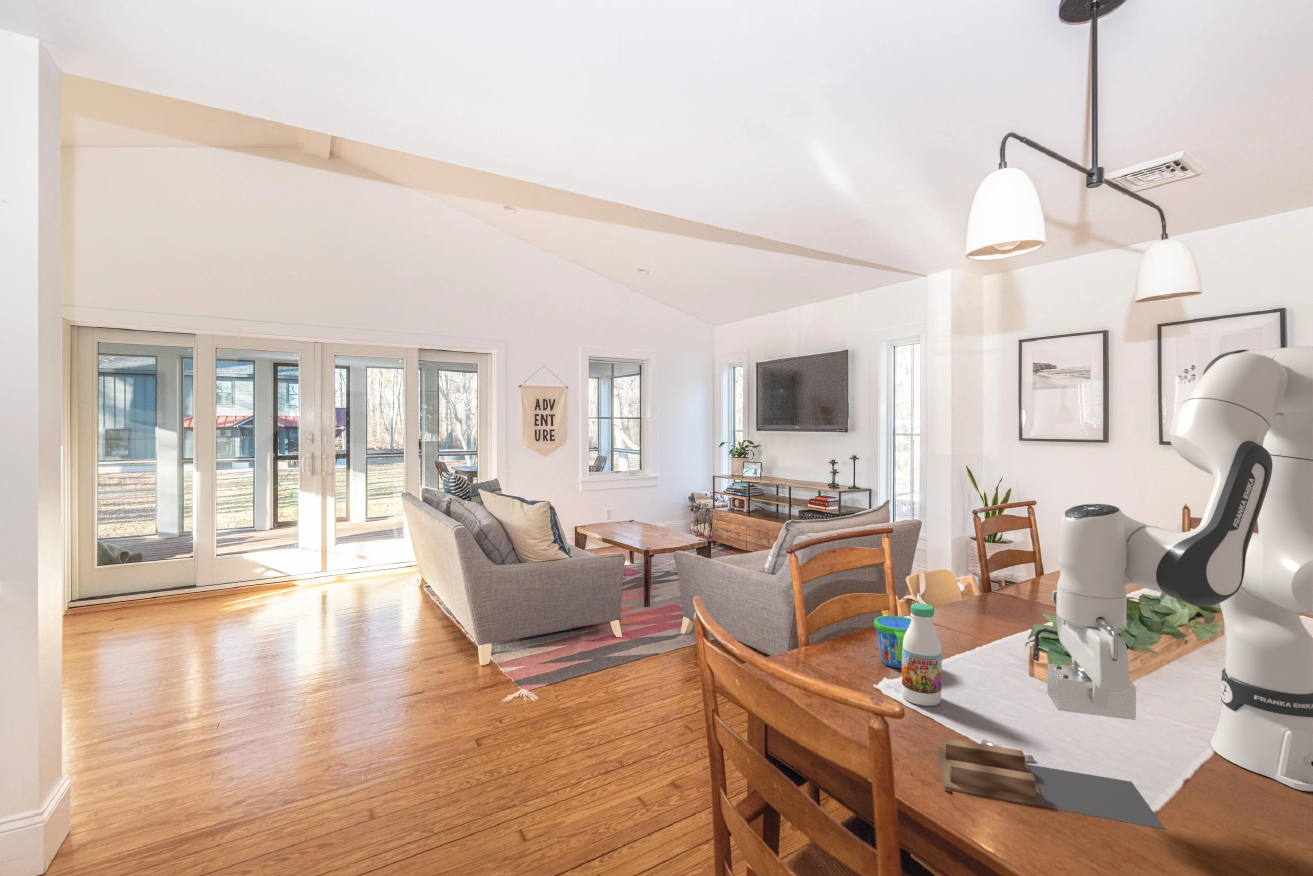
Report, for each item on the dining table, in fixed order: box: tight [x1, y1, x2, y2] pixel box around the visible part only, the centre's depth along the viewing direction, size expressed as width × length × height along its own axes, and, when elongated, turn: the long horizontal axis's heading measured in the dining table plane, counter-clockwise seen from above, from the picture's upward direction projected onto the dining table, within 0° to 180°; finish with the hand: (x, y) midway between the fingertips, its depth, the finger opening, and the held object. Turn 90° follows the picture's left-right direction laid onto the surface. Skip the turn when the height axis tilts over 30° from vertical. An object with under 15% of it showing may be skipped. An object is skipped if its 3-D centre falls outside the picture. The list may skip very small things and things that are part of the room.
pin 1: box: [980, 738, 1002, 747], centre depth 108 cm, size 4×1×1 cm
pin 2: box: [1024, 754, 1035, 764], centre depth 105 cm, size 4×1×1 cm, turn 83°
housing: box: [1046, 663, 1137, 721], centre depth 95 cm, size 10×6×6 cm, turn 70°
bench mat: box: [1027, 763, 1166, 830], centre depth 95 cm, size 16×12×1 cm
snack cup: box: [873, 615, 912, 669], centre depth 146 cm, size 16×10×10 cm
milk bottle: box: [901, 602, 943, 707], centre depth 128 cm, size 8×8×20 cm
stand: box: [936, 737, 1046, 808], centre depth 100 cm, size 14×12×3 cm
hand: (1090, 695), depth 95 cm, fingers closed on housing, 6 cm apart
